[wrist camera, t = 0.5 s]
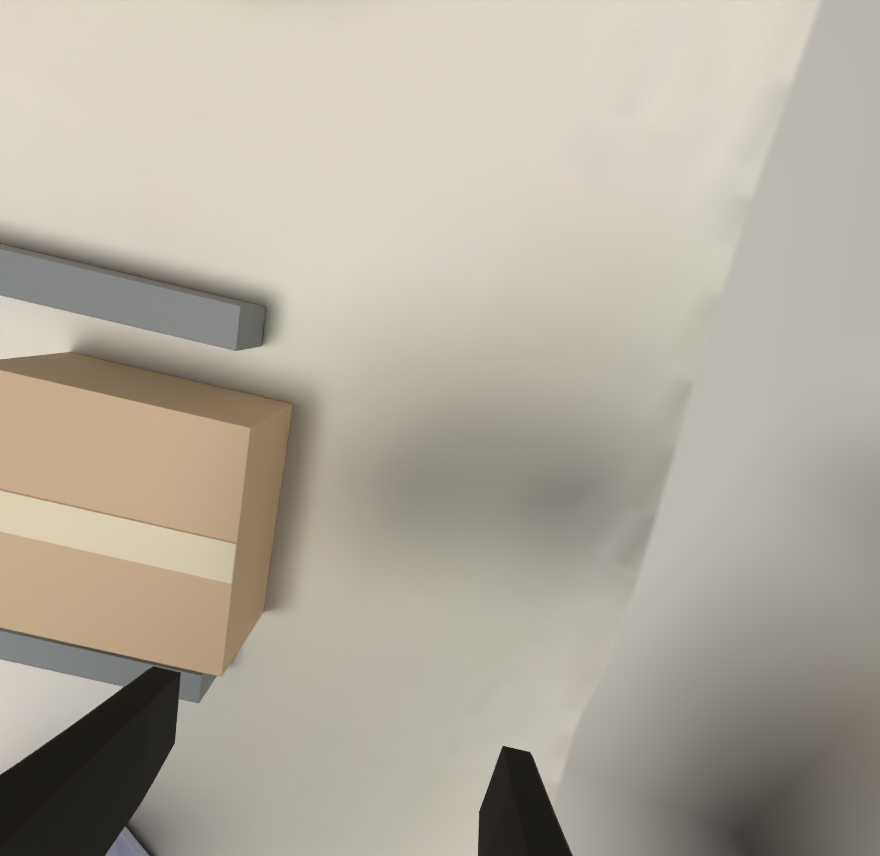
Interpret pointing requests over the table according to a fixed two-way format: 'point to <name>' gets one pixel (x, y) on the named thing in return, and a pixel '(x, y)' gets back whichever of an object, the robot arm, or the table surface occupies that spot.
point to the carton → (136, 508)
